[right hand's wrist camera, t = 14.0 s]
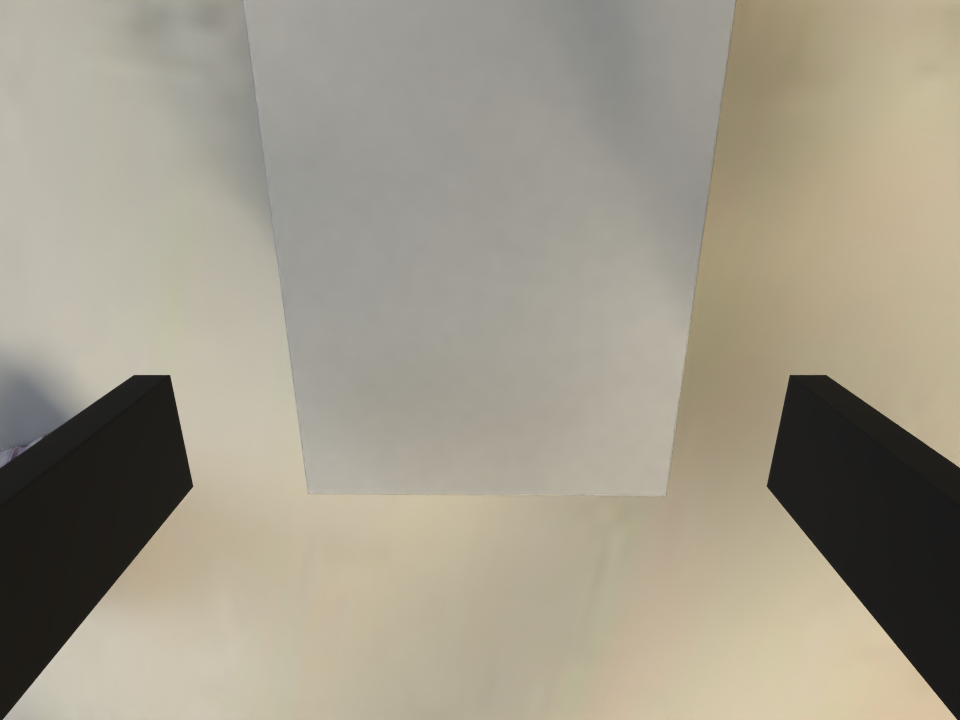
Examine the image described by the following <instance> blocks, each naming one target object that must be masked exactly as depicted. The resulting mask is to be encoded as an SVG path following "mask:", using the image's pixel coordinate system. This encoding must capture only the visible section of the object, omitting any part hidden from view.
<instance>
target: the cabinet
mask: <svg viewBox="0 0 960 720" xmlns="http://www.w3.org/2000/svg"><path fill="white" fill-rule="evenodd" d="M243 3H244V10H245V18H246V26H247V33H248V41H249V48H250V56H251V64H252V71H253V79H254V87H255V94H256V102H257V109H258V117H259V125H260V132H261V140H262V147H263V155H264V163H265V170H266V178H267V185H268V193H269V201H270V208H271V216H272V223H273V231H274V239H275V246H276V254H277V261H278V269H279V277H280V284H281V292H282V299H283V307H284V315H285V322H286V330H287V338H288V345H289V353H290V360H291V368H292V376H293V383H294V391H295V398H296V406H297V414H298V421H299V429H300V436H301V444H302V452H303V459H304V467H305V474H306V482H307V490H308V494H339V495H523V496H666V494H667V487H668V480H669V472H670V465H671V458H672V451H673V444H674V437H675V430H676V423H677V416H678V409H679V402H680V395H681V388H682V380H683V373H684V366H685V359H686V352H687V345H688V338H689V331H690V324H691V317H692V310H693V303H694V295H695V288H696V281H697V274H698V267H699V260H700V253H701V246H702V239H703V232H704V225H705V218H706V211H707V203H708V196H709V189H710V182H711V175H712V168H713V161H714V154H715V147H716V140H717V133H718V126H719V118H720V111H721V104H722V97H723V90H724V83H725V76H726V69H727V62H728V55H729V48H730V41H731V34H732V26H733V19H734V12H735V5H736V0H243Z"/></svg>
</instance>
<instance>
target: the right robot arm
mask: <svg viewBox="0 0 960 720" xmlns="http://www.w3.org/2000/svg"><path fill="white" fill-rule="evenodd" d="M192 487H193V483H192V479H191V474H190V469H189V464H188V459H187V454H186V450H185V445H184V440H183V435H182V430H181V426H180V421H179V416H178V411H177V406H176V401H175V397H174V392H173V387H172V382H171V377H170V375H133V376H132V377H131V378H129V379H128V380H126V381H125V382H123V383H122V384H120V385H119V386H118V387H116V388H115V389H113V390H112V391H110V392H109V393H107V394H106V395H105V396H103V397H102V398H100V399H99V400H97V401H96V402H95V403H93V404H92V405H90V406H89V407H87V408H86V409H84V410H83V411H82V412H80V413H79V414H77V415H76V416H74V417H73V418H71V419H70V420H69V421H67V422H66V423H64V424H63V425H61V426H60V427H58V428H57V429H56V430H54V431H53V432H51V433H50V434H48V435H47V436H45V437H44V438H43V439H41V440H40V441H38V442H37V443H35V444H34V445H32V446H31V447H30V448H28V449H27V450H25V451H24V452H22V453H21V454H19V455H18V456H17V457H15V458H14V459H12V460H11V461H9V462H8V463H6V464H5V465H4V466H2V467H1V468H0V720H3V719H4V717H5V716H6V715H7V714H8V713H9V711H10V710H11V709H12V708H13V706H14V705H15V704H16V703H17V702H18V700H19V699H20V698H21V697H22V695H23V694H24V693H25V692H26V691H27V689H28V688H29V687H30V686H31V684H32V683H33V682H34V681H35V680H36V678H37V677H38V676H39V675H40V673H41V672H42V671H43V670H44V668H45V667H46V666H47V665H48V664H49V662H50V661H51V660H52V659H53V657H54V656H55V655H56V654H57V653H58V651H59V650H60V649H61V648H62V646H63V645H64V644H65V643H66V642H67V640H68V639H69V638H70V637H71V635H72V634H73V633H74V632H75V631H76V629H77V628H78V627H79V626H80V624H81V623H82V622H83V621H84V620H85V618H86V617H87V616H88V615H89V613H90V612H91V611H92V610H93V609H94V607H95V606H96V605H97V604H98V602H99V601H100V600H101V599H102V597H103V596H104V595H105V594H106V593H107V591H108V590H109V589H110V588H111V586H112V585H113V584H114V583H115V582H116V580H117V579H118V578H119V577H120V575H121V574H122V573H123V572H124V571H125V569H126V568H127V567H128V566H129V564H130V563H131V562H132V561H133V560H134V558H135V557H136V556H137V555H138V553H139V552H140V551H141V550H142V549H143V547H144V546H145V545H146V544H147V542H148V541H149V540H150V539H151V538H152V536H153V535H154V534H155V533H156V531H157V530H158V529H159V528H160V526H161V525H162V524H163V523H164V522H165V520H166V519H167V518H168V517H169V515H170V514H171V513H172V512H173V511H174V509H175V508H176V507H177V506H178V504H179V503H180V502H181V501H182V500H183V498H184V497H185V496H186V495H187V493H188V492H189V491H190V490H191V489H192ZM767 487H768V489H769V490H770V491H771V492H772V493H773V495H774V496H775V497H776V498H777V500H778V501H779V502H780V503H781V504H782V506H783V507H784V508H785V509H786V511H787V512H788V513H789V514H790V515H791V517H792V518H793V519H794V520H795V522H796V523H797V524H798V525H799V526H800V528H801V529H802V530H803V531H804V533H805V534H806V535H807V536H808V538H809V539H810V540H811V541H812V542H813V544H814V545H815V546H816V547H817V549H818V550H819V551H820V552H821V553H822V555H823V556H824V557H825V558H826V560H827V561H828V562H829V563H830V564H831V566H832V567H833V568H834V569H835V571H836V572H837V573H838V574H839V575H840V577H841V578H842V579H843V580H844V582H845V583H846V584H847V585H848V586H849V588H850V589H851V590H852V591H853V593H854V594H855V595H856V596H857V597H858V599H859V600H860V601H861V602H862V604H863V605H864V606H865V607H866V609H867V610H868V611H869V612H870V613H871V615H872V616H873V617H874V618H875V620H876V621H877V622H878V623H879V624H880V626H881V627H882V628H883V629H884V631H885V632H886V633H887V634H888V635H889V637H890V638H891V639H892V640H893V642H894V643H895V644H896V645H897V646H898V648H899V649H900V650H901V651H902V653H903V654H904V655H905V656H906V657H907V659H908V660H909V661H910V662H911V664H912V665H913V666H914V667H915V668H916V670H917V671H918V672H919V673H920V675H921V676H922V677H923V678H924V680H925V681H926V682H927V683H928V684H929V686H930V687H931V688H932V689H933V691H934V692H935V693H936V694H937V695H938V697H939V698H940V699H941V700H942V702H943V703H944V704H945V705H946V706H947V708H948V709H949V710H950V711H951V713H952V714H953V715H954V716H955V717H956V719H957V720H960V468H959V467H958V466H956V465H955V464H954V463H952V462H951V461H949V460H948V459H946V458H945V457H943V456H942V455H941V454H939V453H938V452H936V451H935V450H933V449H932V448H930V447H929V446H928V445H926V444H925V443H923V442H922V441H920V440H919V439H917V438H916V437H915V436H913V435H912V434H910V433H909V432H907V431H906V430H904V429H903V428H902V427H900V426H899V425H897V424H896V423H894V422H893V421H891V420H890V419H889V418H887V417H886V416H884V415H883V414H881V413H880V412H878V411H877V410H876V409H874V408H873V407H871V406H870V405H868V404H867V403H865V402H864V401H863V400H861V399H860V398H858V397H857V396H855V395H854V394H853V393H851V392H850V391H848V390H847V389H845V388H844V387H842V386H841V385H840V384H838V383H837V382H835V381H834V380H832V379H831V378H829V377H828V376H827V375H790V377H789V382H788V387H787V392H786V397H785V401H784V406H783V411H782V416H781V421H780V426H779V430H778V435H777V440H776V445H775V450H774V454H773V459H772V464H771V469H770V474H769V478H768V483H767Z"/></svg>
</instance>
